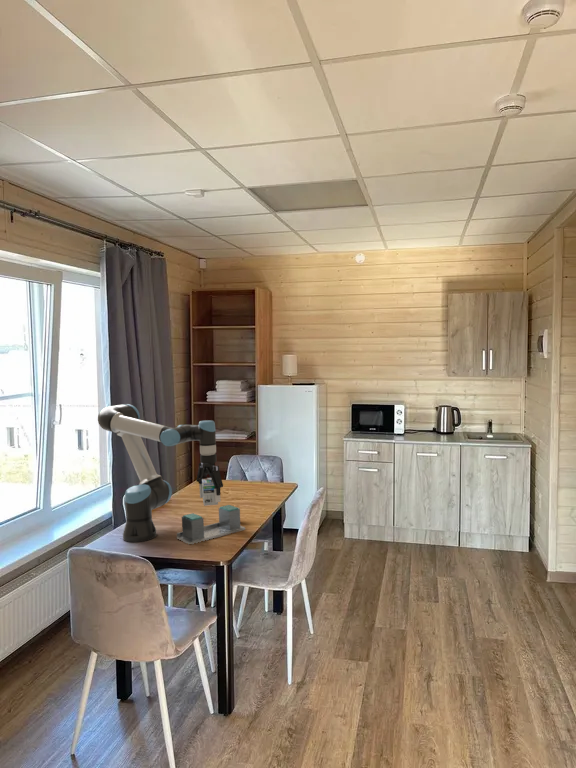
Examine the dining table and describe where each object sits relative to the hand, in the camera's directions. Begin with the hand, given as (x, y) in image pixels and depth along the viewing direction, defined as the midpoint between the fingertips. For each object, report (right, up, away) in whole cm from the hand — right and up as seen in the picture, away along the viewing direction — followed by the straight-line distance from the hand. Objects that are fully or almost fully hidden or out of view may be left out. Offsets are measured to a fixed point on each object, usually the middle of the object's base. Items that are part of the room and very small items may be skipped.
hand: (210, 499), depth 259 cm
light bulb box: (0, -2, 0) cm, 2 cm away
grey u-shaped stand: (+1, -16, +1) cm, 16 cm away
